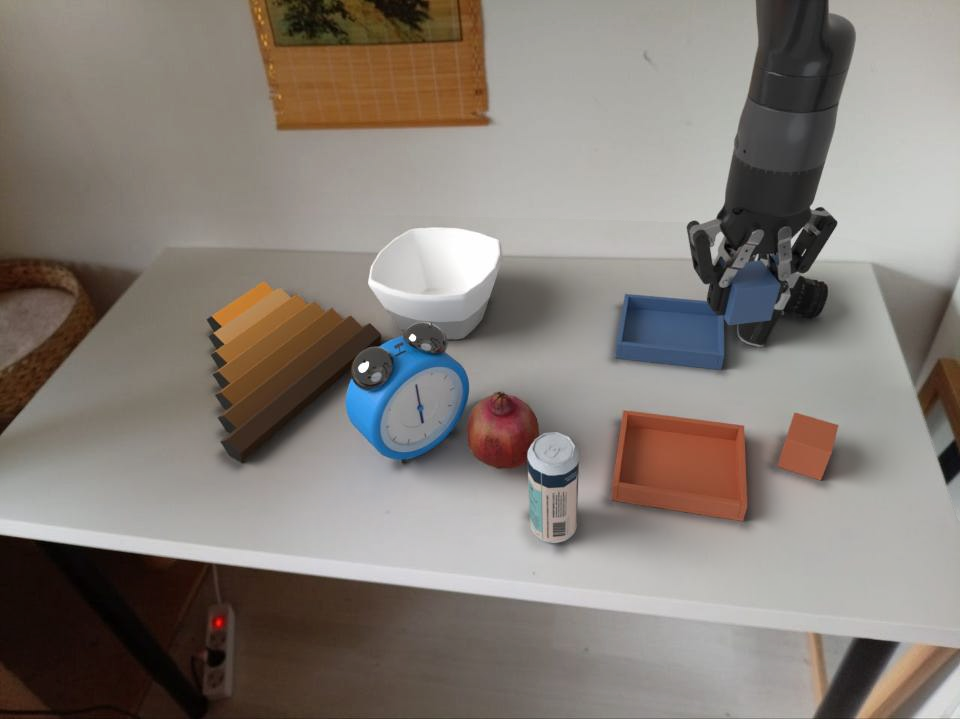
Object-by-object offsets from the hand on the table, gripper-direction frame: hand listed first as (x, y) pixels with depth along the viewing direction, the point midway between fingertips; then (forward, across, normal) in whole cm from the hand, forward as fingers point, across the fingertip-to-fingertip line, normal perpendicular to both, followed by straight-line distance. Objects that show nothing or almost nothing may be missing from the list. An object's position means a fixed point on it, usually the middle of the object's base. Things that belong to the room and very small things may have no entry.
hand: (741, 307), depth 70 cm
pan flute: (+17, -57, +20) cm, 62 cm away
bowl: (+17, -30, +26) cm, 44 cm away
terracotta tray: (+16, -7, -7) cm, 19 cm away
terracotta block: (+16, +7, -8) cm, 19 cm away
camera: (+16, +15, +16) cm, 27 cm away
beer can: (+16, -22, -12) cm, 30 cm away
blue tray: (+16, 0, +15) cm, 22 cm away
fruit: (+16, -25, -2) cm, 30 cm away
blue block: (0, 0, 0) cm, 0 cm away
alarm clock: (+16, -35, +3) cm, 39 cm away
